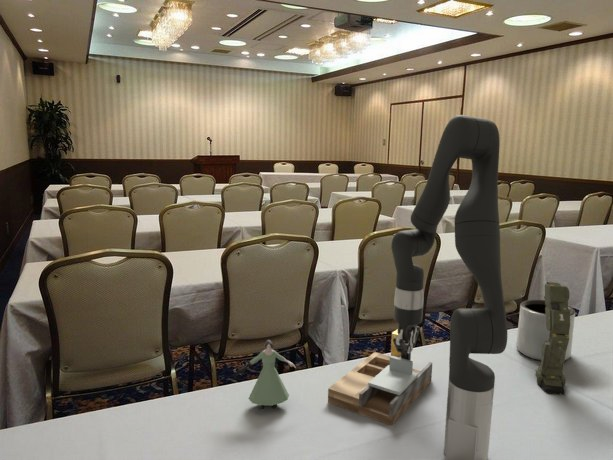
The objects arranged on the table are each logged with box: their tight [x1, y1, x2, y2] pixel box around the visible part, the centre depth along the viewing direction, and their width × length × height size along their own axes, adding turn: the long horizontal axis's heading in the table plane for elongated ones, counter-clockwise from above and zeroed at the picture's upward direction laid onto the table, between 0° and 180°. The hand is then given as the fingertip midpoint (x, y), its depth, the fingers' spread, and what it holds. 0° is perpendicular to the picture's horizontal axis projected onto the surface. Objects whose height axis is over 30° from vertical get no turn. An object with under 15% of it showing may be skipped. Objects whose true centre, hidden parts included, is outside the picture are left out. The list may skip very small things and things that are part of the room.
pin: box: [390, 328, 401, 358], centre depth 152 cm, size 4×4×10 cm
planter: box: [515, 299, 576, 362], centre depth 160 cm, size 16×16×16 cm
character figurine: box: [234, 339, 297, 411], centre depth 126 cm, size 16×8×18 cm, turn 100°
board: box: [327, 351, 433, 426], centre depth 135 cm, size 27×18×6 cm, turn 146°
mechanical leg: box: [534, 281, 570, 396], centre depth 139 cm, size 14×7×30 cm, turn 168°
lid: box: [368, 355, 418, 395], centre depth 129 cm, size 12×9×4 cm
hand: (405, 364), depth 135 cm, fingers closed
